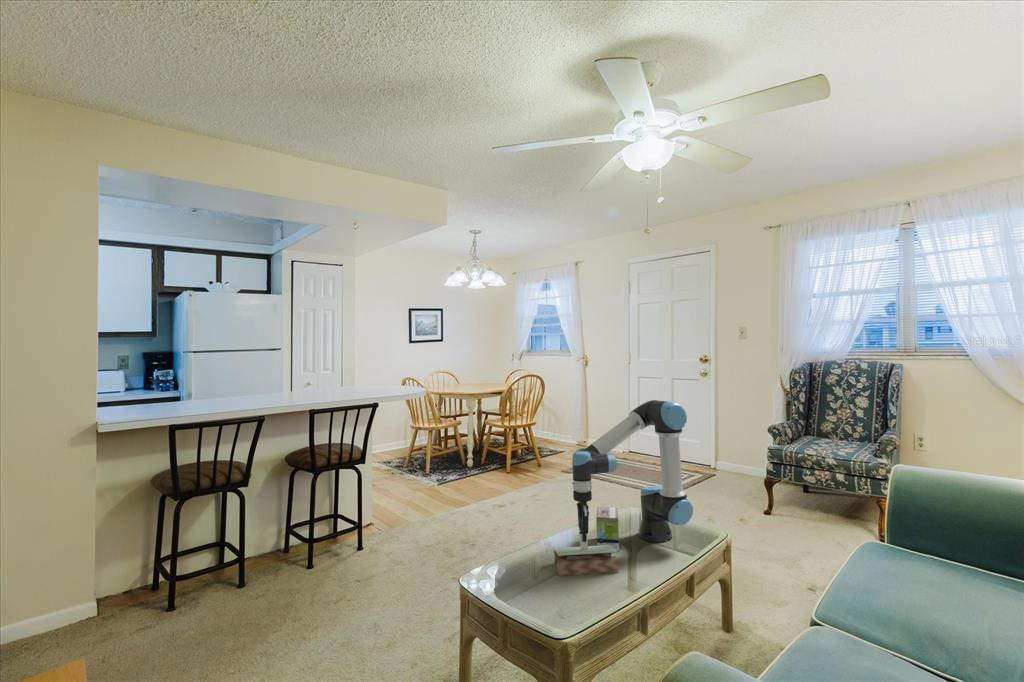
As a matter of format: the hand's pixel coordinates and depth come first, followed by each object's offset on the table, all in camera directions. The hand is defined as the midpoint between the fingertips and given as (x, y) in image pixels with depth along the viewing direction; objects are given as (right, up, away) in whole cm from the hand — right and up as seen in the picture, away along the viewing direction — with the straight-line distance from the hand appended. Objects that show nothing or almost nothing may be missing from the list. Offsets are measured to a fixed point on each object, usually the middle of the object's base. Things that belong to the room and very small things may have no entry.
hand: (583, 548), depth 196 cm
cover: (+1, -2, +1) cm, 2 cm away
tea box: (+15, -9, +23) cm, 29 cm away
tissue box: (+1, -8, 0) cm, 8 cm away
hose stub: (-1, -6, +3) cm, 7 cm away
